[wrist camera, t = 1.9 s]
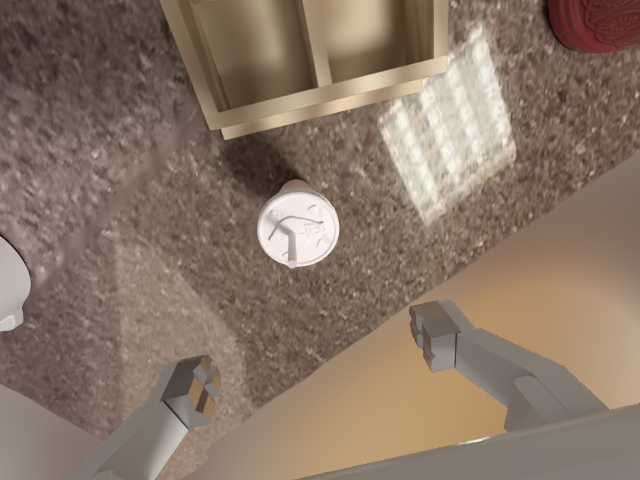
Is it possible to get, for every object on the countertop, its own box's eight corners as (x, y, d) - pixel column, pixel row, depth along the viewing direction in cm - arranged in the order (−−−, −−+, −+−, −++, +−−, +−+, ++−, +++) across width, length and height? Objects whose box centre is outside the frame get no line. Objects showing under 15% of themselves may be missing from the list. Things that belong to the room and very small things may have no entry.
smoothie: (259, 174, 26) (230, 228, 14) (318, 159, 26) (342, 200, 14) (277, 228, 29) (267, 312, 17) (330, 214, 29) (359, 289, 17)
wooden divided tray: (227, 139, 24) (209, 146, 19) (168, -19, 19) (121, -71, 14) (417, 91, 24) (453, 85, 19) (412, -82, 19) (459, -158, 14)
